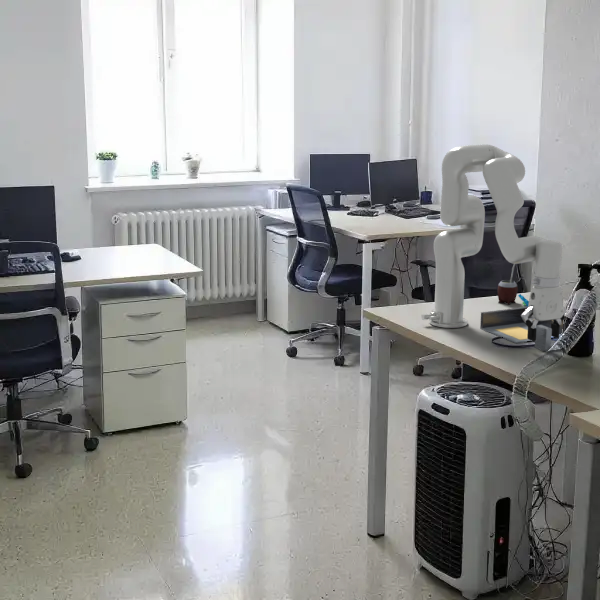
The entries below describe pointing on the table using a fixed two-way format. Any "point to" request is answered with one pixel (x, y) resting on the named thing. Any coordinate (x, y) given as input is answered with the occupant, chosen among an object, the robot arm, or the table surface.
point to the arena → (509, 324)
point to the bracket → (543, 338)
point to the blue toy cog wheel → (524, 301)
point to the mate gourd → (507, 290)
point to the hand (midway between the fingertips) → (543, 338)
